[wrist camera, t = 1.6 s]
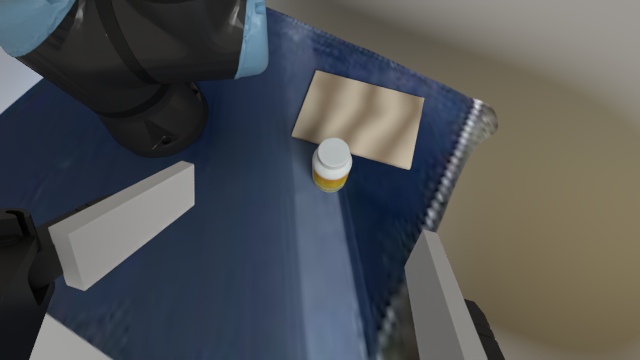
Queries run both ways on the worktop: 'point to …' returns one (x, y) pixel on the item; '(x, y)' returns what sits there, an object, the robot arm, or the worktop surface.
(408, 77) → the worktop surface
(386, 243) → the worktop surface
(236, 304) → the worktop surface
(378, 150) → the birch board
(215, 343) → the worktop surface
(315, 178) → the supplement bottle
